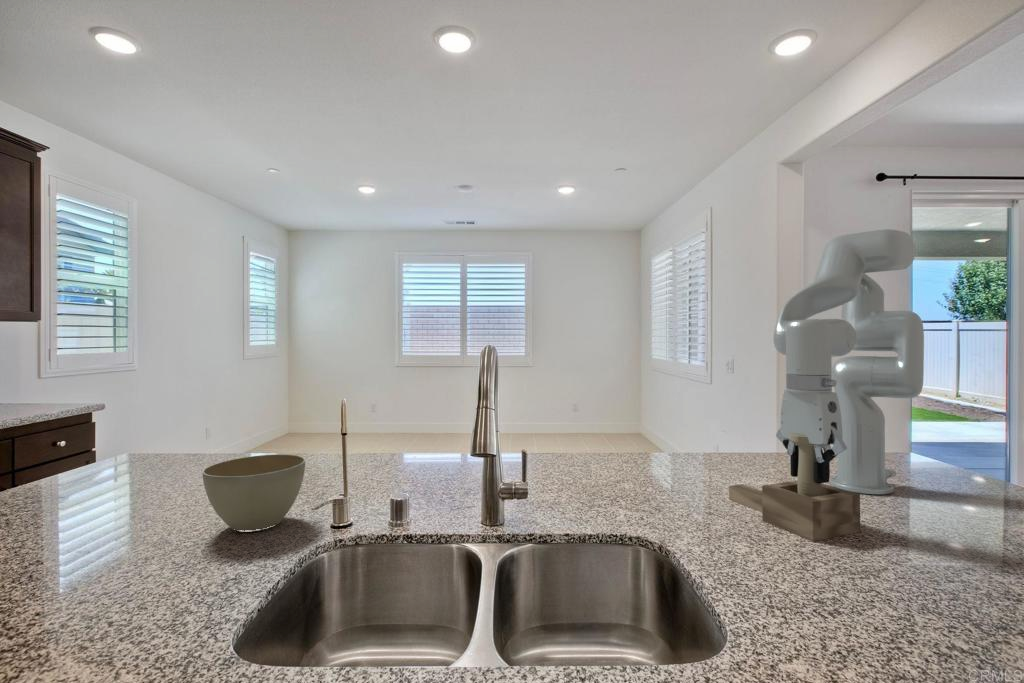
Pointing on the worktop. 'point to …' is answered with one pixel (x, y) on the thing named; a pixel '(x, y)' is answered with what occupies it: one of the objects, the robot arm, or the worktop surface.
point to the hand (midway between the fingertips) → (809, 478)
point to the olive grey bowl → (254, 489)
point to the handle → (806, 467)
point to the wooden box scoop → (803, 509)
